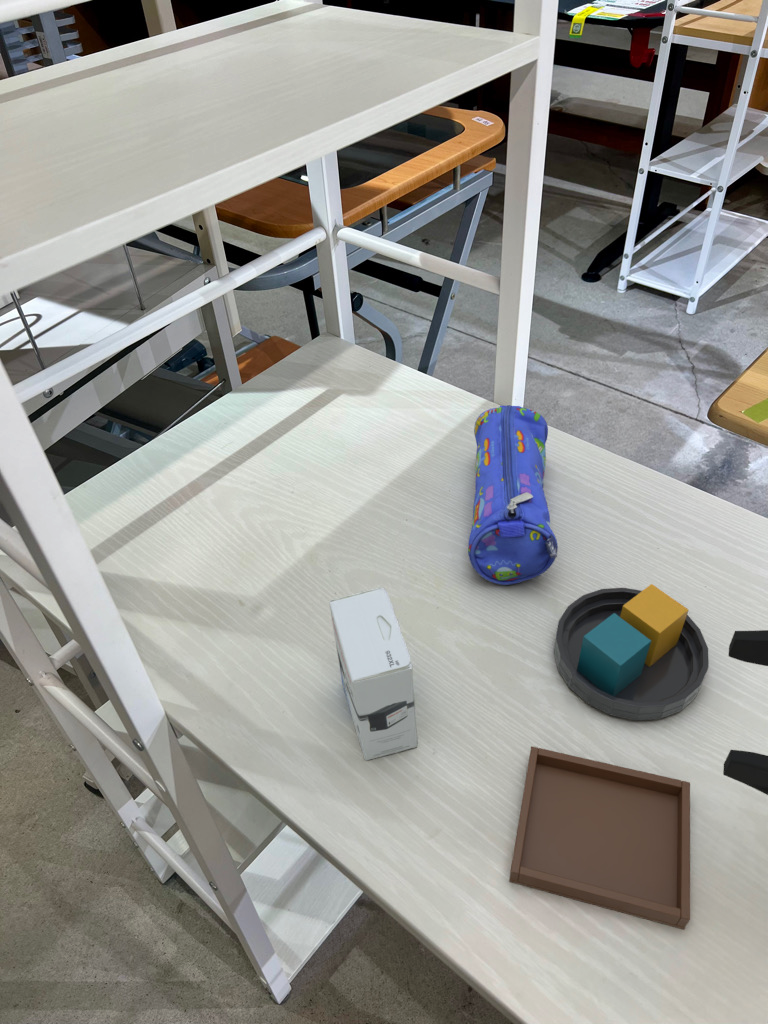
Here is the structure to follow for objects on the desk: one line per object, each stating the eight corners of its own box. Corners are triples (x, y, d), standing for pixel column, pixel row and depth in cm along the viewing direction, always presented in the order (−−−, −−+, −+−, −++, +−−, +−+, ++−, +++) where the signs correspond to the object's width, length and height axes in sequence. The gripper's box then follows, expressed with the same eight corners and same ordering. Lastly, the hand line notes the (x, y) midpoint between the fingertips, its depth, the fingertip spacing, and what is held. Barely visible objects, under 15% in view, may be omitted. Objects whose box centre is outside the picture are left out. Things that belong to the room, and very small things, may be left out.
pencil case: (553, 597, 74) (563, 528, 68) (466, 593, 75) (468, 525, 69) (544, 457, 90) (551, 390, 83) (472, 455, 91) (474, 389, 85)
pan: (701, 618, 71) (707, 601, 69) (702, 737, 62) (710, 721, 60) (562, 594, 74) (565, 577, 73) (545, 704, 65) (548, 688, 64)
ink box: (340, 681, 68) (326, 597, 60) (392, 667, 69) (384, 583, 61) (363, 763, 62) (350, 683, 54) (419, 747, 63) (415, 666, 55)
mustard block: (677, 644, 69) (689, 609, 65) (649, 667, 67) (660, 633, 64) (641, 618, 71) (651, 583, 68) (614, 639, 69) (622, 605, 66)
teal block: (641, 674, 67) (651, 640, 63) (611, 699, 65) (620, 665, 61) (606, 646, 69) (614, 612, 66) (576, 670, 67) (583, 636, 64)
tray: (684, 793, 59) (690, 782, 58) (684, 929, 52) (690, 920, 50) (529, 757, 62) (531, 745, 61) (509, 881, 55) (510, 871, 53)
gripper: (1021, 601, 40) (747, 560, 44) (1086, 880, 32) (740, 797, 36) (965, 665, 46) (724, 623, 50) (1007, 919, 37) (713, 842, 41)
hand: (729, 699), depth 43 cm, fingers open, 7 cm apart
